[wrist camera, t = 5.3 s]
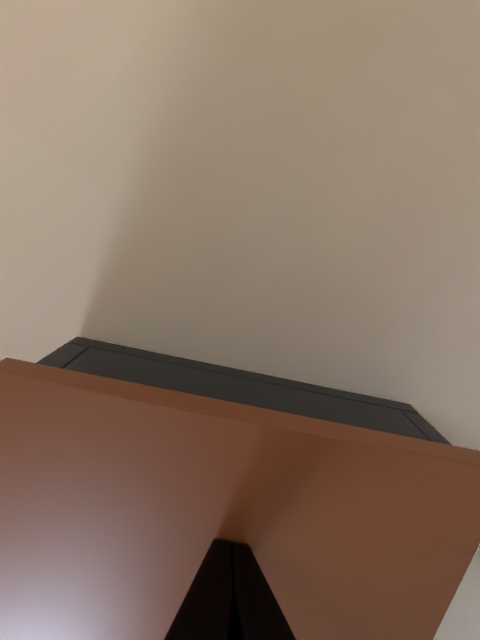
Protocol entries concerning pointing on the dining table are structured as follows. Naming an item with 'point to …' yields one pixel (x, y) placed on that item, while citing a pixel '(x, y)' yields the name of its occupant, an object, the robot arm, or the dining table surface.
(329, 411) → the case
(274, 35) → the dining table surface
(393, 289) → the dining table surface
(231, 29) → the dining table surface
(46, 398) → the cover
